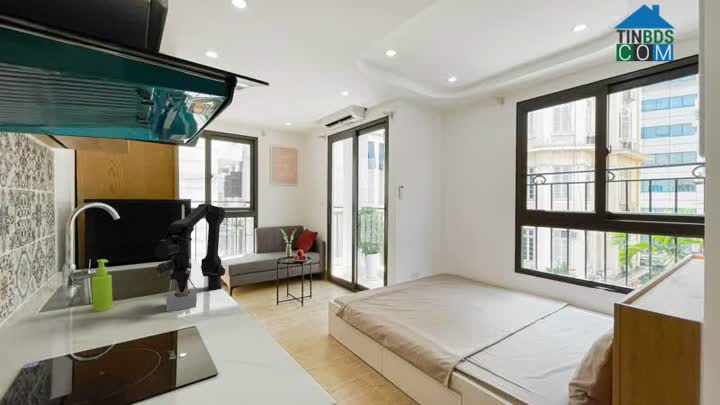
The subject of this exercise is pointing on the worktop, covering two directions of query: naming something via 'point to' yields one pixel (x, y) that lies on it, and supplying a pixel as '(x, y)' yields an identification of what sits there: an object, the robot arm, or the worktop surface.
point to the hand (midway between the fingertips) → (182, 290)
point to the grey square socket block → (181, 300)
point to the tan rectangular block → (179, 290)
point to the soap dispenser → (102, 288)
